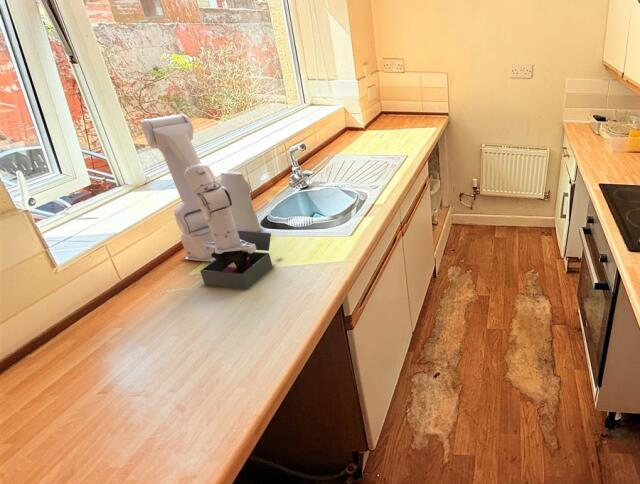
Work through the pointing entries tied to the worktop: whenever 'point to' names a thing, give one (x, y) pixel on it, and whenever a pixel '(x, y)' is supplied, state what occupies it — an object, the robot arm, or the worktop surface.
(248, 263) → the chocolate
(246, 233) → the flap
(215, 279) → the carton
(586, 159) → the worktop surface
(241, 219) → the tall pale column
